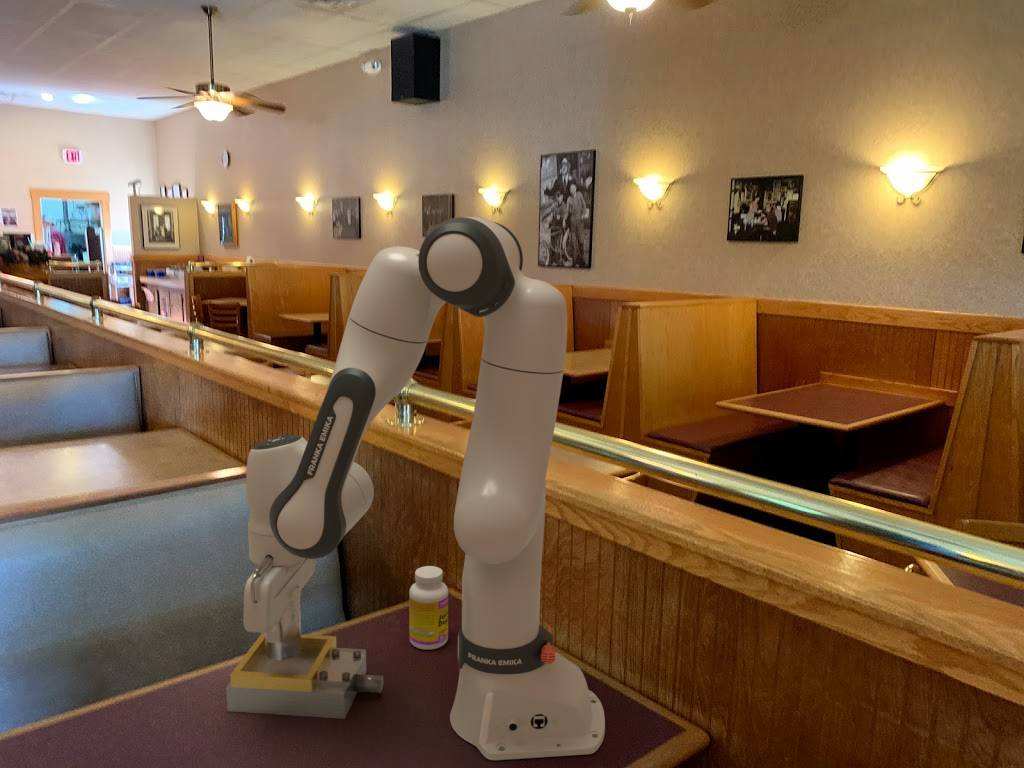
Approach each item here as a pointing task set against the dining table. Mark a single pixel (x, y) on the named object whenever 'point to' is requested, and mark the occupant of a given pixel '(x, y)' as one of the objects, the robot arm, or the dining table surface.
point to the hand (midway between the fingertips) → (283, 629)
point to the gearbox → (301, 680)
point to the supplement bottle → (428, 609)
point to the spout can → (288, 631)
